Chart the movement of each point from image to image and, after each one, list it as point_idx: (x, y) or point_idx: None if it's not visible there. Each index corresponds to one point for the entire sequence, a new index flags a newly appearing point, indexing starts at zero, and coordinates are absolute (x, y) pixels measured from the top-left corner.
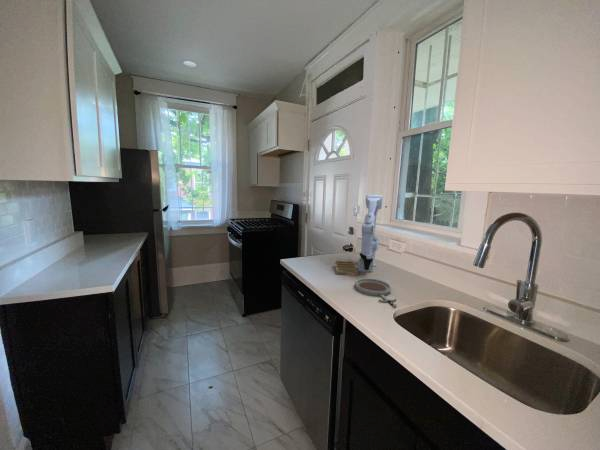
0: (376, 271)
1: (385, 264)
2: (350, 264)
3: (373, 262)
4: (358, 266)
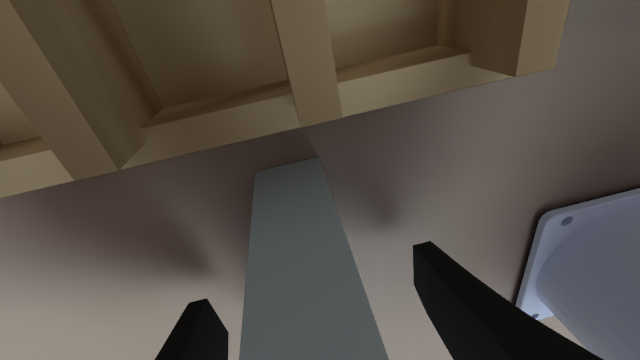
0: None
1: None
2: (273, 7)
3: (564, 325)
4: (271, 217)
